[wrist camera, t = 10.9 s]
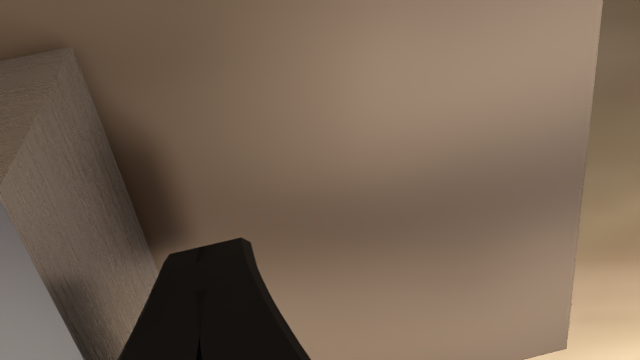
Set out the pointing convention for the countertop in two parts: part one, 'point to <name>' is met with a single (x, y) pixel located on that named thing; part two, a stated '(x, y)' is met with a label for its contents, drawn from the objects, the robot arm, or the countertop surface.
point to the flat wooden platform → (354, 154)
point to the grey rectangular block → (63, 220)
